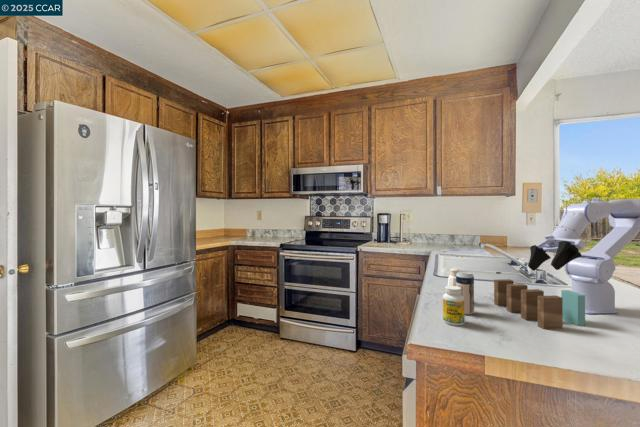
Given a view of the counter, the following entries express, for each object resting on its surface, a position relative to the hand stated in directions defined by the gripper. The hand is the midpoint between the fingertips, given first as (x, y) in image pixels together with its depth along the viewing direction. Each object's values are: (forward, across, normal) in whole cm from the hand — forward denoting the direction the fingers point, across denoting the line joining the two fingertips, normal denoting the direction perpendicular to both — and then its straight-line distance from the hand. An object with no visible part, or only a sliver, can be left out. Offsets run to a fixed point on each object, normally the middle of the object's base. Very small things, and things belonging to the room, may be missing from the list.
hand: (542, 267), depth 82 cm
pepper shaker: (+18, -20, -3) cm, 27 cm away
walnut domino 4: (+13, +3, +8) cm, 16 cm away
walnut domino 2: (+10, -9, +7) cm, 16 cm away
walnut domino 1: (+9, -15, +7) cm, 19 cm away
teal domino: (+6, 0, +14) cm, 16 cm away
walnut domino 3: (+12, -3, +8) cm, 15 cm away
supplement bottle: (+28, -4, -8) cm, 30 cm away
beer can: (+22, -10, -4) cm, 25 cm away
